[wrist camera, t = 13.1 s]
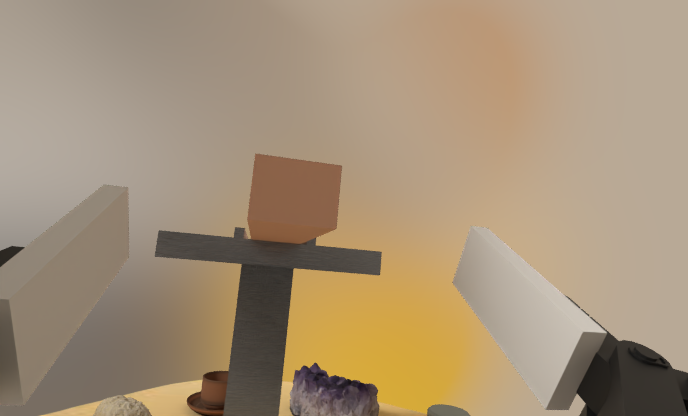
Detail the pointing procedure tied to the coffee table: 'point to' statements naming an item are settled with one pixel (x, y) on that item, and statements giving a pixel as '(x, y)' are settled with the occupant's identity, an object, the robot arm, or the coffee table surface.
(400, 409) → the coffee table surface
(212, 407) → the cup and saucer
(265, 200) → the block
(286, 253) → the stand
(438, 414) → the air freshener
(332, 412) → the geode
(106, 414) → the beige rough dome
